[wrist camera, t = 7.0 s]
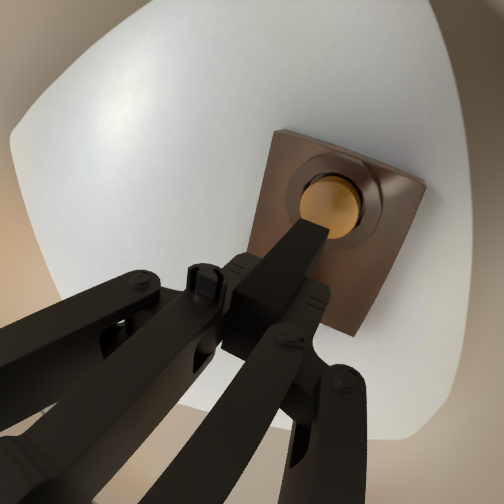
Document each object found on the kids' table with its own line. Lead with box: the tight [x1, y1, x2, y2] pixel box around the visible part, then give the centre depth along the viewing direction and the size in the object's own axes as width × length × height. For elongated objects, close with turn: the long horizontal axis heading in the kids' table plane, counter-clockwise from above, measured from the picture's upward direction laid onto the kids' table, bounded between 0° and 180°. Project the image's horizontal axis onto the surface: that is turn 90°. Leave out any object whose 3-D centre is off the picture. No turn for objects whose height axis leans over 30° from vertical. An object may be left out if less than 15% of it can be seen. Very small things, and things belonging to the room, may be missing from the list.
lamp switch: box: [300, 176, 361, 239], centre depth 21 cm, size 4×4×2 cm
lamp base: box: [247, 129, 426, 337], centre depth 25 cm, size 12×15×4 cm
